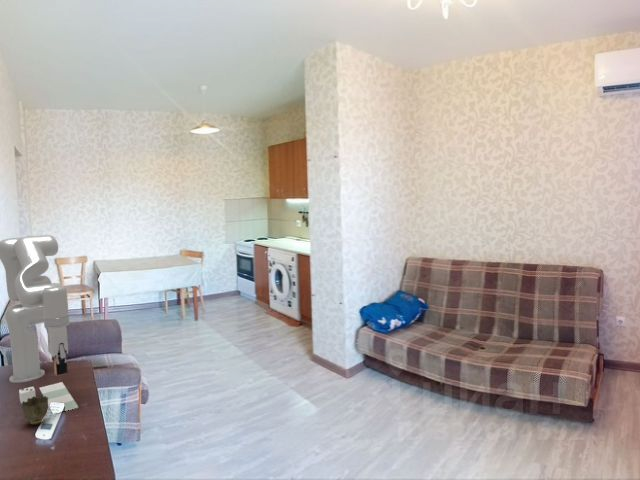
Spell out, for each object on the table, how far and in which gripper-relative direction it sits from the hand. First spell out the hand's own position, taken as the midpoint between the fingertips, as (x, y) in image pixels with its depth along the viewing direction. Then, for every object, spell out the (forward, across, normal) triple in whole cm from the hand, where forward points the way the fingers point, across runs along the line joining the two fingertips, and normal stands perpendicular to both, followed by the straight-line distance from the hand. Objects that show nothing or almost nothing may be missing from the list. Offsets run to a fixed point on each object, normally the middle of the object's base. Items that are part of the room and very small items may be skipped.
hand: (61, 371), depth 156 cm
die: (+13, -16, -9) cm, 23 cm away
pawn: (+1, 0, 0) cm, 1 cm away
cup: (+14, +6, -9) cm, 18 cm away
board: (+13, -12, 0) cm, 18 cm away
